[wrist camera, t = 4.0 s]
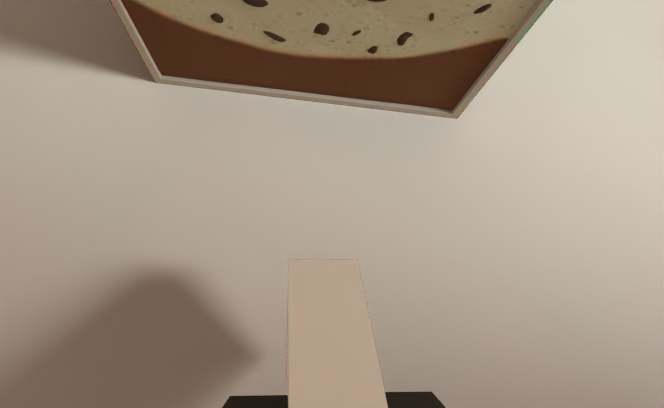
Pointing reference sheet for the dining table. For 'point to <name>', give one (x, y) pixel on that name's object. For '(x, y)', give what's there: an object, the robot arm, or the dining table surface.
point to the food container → (332, 47)
